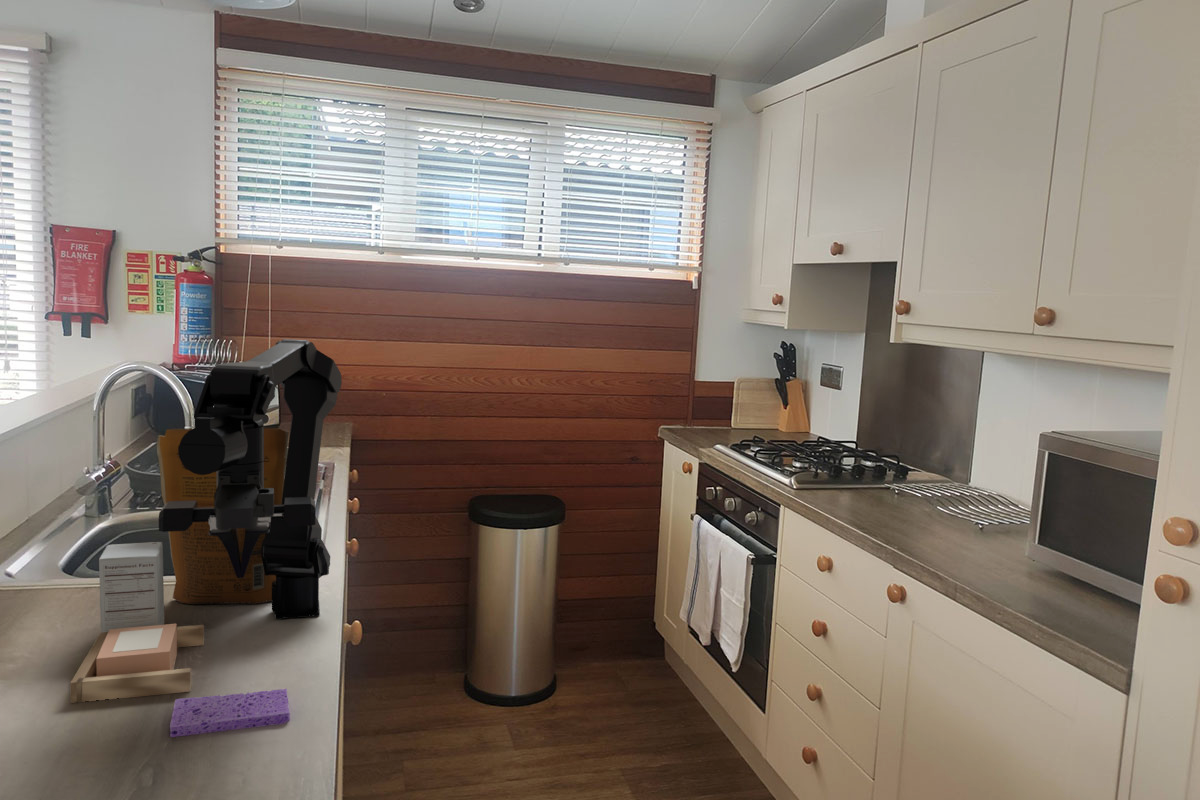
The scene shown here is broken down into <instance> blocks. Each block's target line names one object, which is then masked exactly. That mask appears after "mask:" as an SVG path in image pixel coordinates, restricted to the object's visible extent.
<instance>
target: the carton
mask: <svg viewBox="0 0 1200 800" xmlns="http://www.w3.org/2000/svg"><path fill="white" fill-rule="evenodd" d="M177 627H178V625H177V623H168V624H164V625H154V626H143V627H132V628H120V629H109V632H108V634H107V636H106V638H105V641H104V643H103V645H102V647H101V649H100V652H99V654H98V656H97V658H96V664H97V676H96V677H98V676H109V675H120V674H131V673H142V672H153V671H164V670H175V663H176V659H177V656H178V647H177Z"/></svg>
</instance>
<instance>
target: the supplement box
mask: <svg viewBox="0 0 1200 800" xmlns="http://www.w3.org/2000/svg"><path fill="white" fill-rule="evenodd" d="M163 545H164V543H163V542H162V541H155V542H154V541H150V542H149V541H148V542H132V543H131V542H130V543H119V544H118V543H116V544H107V545H106V547H105V548H104V549H103V552H102V554H101V555H100V556H99V559H98V566H99V568H98V569H99V573H98V574H99V608H100V610H99V611H100V613H99V614H100V616H99V617H100V633H101V632H109V629H120V628H132V627H143V626H154V625H165V600H164V599H165V598H164V596H165V595H164V591H165V590H164V589H165V588H164V547H163Z"/></svg>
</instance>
